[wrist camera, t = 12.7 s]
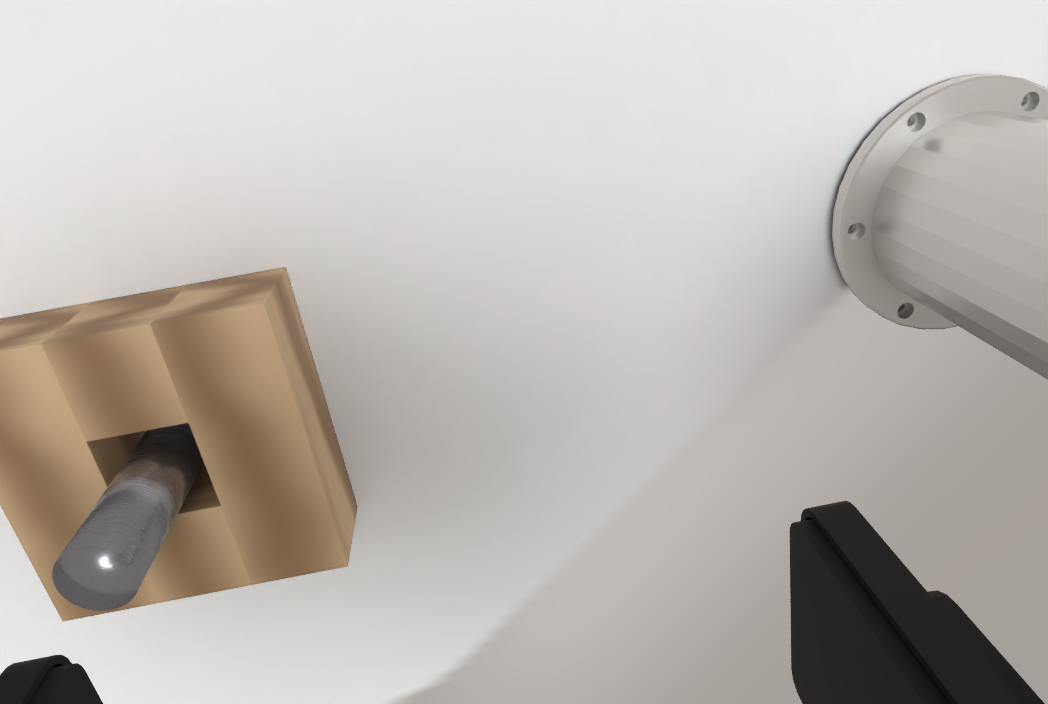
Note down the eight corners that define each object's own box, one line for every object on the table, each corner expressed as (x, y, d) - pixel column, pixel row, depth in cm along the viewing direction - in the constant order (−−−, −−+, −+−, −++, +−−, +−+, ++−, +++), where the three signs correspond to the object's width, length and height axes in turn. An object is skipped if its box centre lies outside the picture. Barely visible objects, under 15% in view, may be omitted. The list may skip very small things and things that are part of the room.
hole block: (285, 267, 36) (264, 303, 32) (357, 506, 42) (347, 565, 38) (-11, 320, 36) (-75, 365, 31) (103, 555, 42) (62, 621, 37)
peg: (210, 389, 39) (121, 539, 28) (229, 440, 40) (151, 602, 29) (151, 401, 38) (38, 555, 28) (171, 451, 40) (71, 617, 29)
